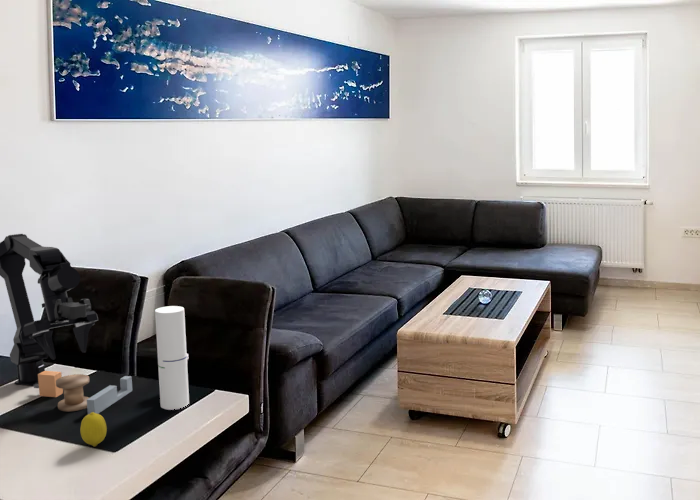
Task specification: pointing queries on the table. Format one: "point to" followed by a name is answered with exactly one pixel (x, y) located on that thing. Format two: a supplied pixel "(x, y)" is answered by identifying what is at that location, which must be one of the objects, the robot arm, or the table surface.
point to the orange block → (49, 384)
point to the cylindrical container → (172, 357)
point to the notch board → (109, 395)
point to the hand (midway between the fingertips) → (69, 355)
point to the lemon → (93, 429)
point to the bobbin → (73, 392)
